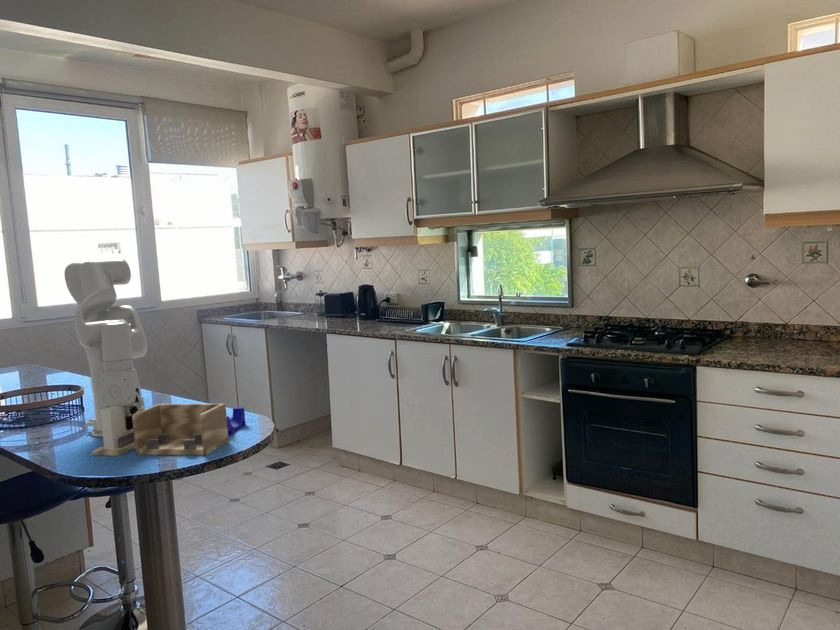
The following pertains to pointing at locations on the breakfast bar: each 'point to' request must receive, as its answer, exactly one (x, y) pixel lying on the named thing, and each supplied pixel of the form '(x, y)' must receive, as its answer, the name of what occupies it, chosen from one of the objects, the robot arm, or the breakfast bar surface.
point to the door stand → (124, 446)
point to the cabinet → (180, 429)
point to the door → (115, 425)
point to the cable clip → (236, 420)
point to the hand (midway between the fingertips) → (125, 428)
